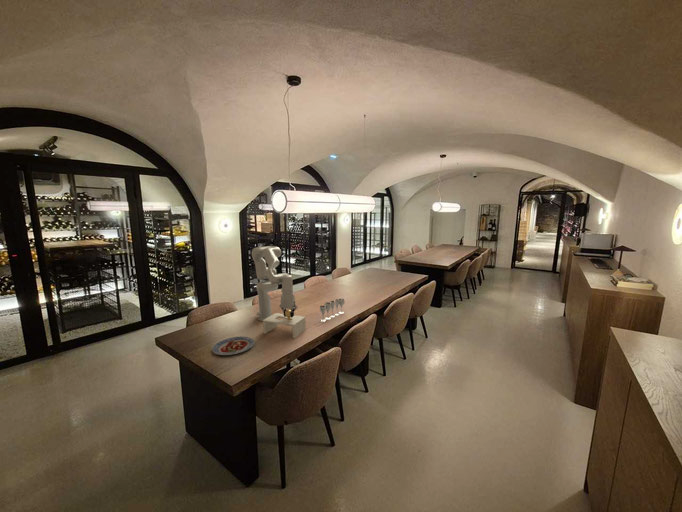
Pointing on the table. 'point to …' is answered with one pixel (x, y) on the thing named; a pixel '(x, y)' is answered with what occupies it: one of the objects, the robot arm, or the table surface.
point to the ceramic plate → (233, 345)
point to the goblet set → (331, 305)
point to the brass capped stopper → (288, 314)
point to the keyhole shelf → (285, 323)
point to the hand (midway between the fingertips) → (288, 316)
